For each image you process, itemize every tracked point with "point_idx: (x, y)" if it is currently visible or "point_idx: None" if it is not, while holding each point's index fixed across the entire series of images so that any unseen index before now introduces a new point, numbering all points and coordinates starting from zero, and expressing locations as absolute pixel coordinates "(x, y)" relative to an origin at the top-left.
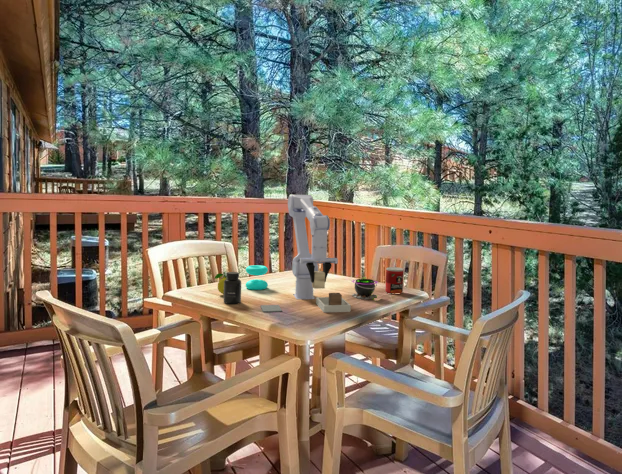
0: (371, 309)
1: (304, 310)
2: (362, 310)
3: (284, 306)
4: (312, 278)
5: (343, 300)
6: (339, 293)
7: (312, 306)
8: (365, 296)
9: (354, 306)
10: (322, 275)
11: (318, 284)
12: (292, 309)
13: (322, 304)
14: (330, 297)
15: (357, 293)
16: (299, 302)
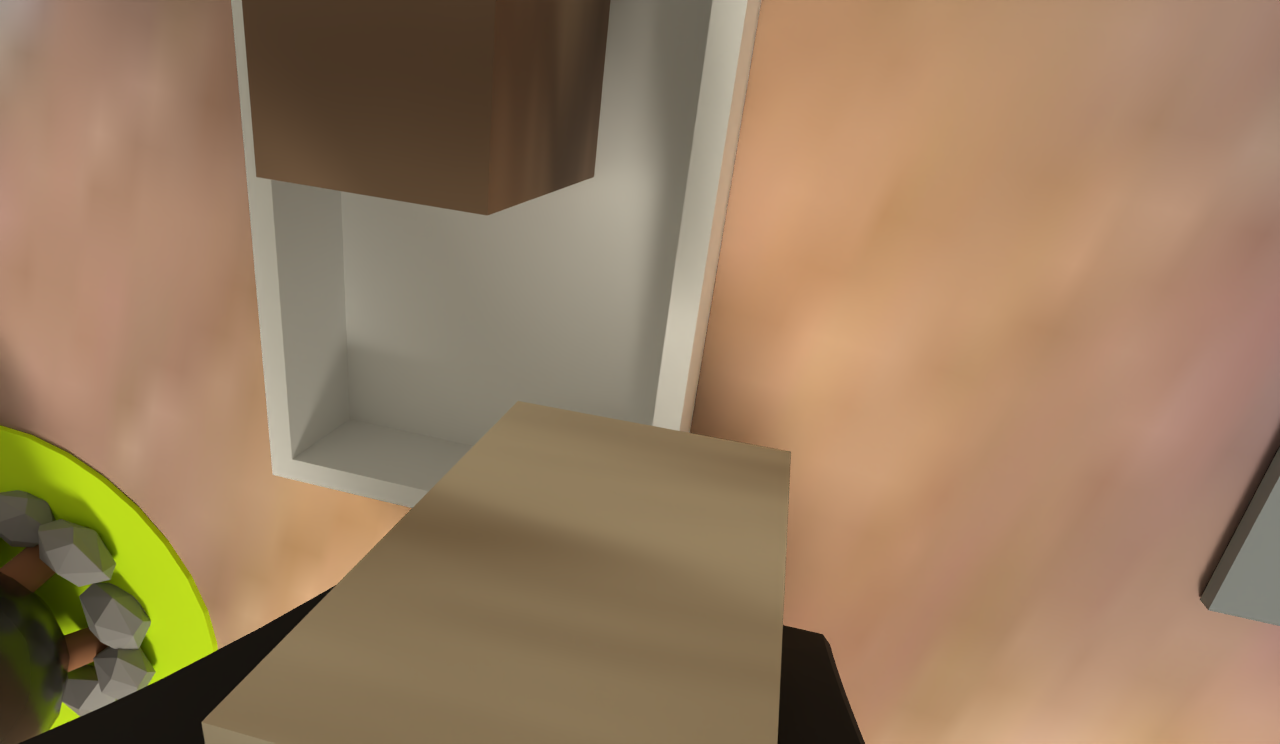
0: (2, 38)
1: (1009, 236)
2: (122, 7)
3: (1207, 567)
4: (845, 724)
5: (280, 256)
6: (259, 92)
7: (764, 435)
8: (6, 564)
9: (196, 266)
10: (402, 659)
11: (661, 487)
12: (1186, 356)
13: (743, 26)
14: (524, 20)
15: (65, 658)
16: (853, 682)
